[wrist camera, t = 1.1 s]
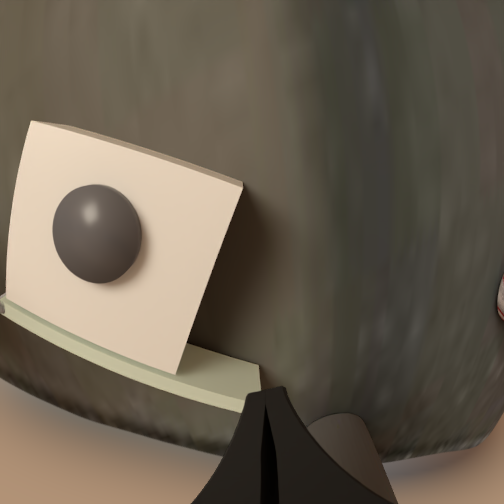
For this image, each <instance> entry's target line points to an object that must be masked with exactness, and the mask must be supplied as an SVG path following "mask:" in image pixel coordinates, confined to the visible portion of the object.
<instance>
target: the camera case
mask: <svg viewBox="0 0 504 504" xmlns="http://www.w3.org/2000/svg"><path fill="white" fill-rule="evenodd" d="M242 190H243V182H242V181H239V180H236V179H234V178H231V177H228V176H225V175H223V174H220V173H217V172H214V171H212V170H209V169H206V168H203V167H200V166H198V165H195V164H192V163H189V162H186V161H183V160H180V159H177V158H174V157H171V156H168V155H165V154H162V153H159V152H156V151H153V150H150V149H147V148H144V147H141V146H137V145H134V144H131V143H128V142H125V141H121V140H118V139H115V138H111V137H108V136H105V135H101V134H98V133H94V132H91V131H87V130H84V129H80V128H76V127H73V126H69V125H62V124H54V123H47V122H38V121H31V123H30V127H29V130H28V134H27V137H26V141H25V145H24V149H23V153H22V157H21V162H20V166H19V171H18V176H17V181H16V186H15V192H14V198H13V205H12V212H11V219H10V228H9V238H8V250H7V268H6V298H7V299H8V300H10V301H12V302H14V303H15V304H17V305H19V306H21V307H22V308H24V309H26V310H28V311H30V312H31V313H33V314H35V315H37V316H39V317H41V318H43V319H44V320H46V321H48V322H50V323H52V324H54V325H56V326H58V327H60V328H62V329H64V330H66V331H68V332H70V333H72V334H75V335H77V336H79V337H81V338H83V339H85V340H88V341H90V342H92V343H94V344H96V345H99V346H101V347H103V348H106V349H108V350H110V351H113V352H115V353H118V354H120V355H123V356H125V357H128V358H130V359H133V360H135V361H138V362H140V363H143V364H146V365H148V366H151V367H154V368H157V369H159V370H162V371H165V372H168V373H171V374H174V375H175V374H176V371H177V368H178V365H179V363H180V360H181V357H182V354H183V351H184V348H185V345H186V342H187V339H188V336H189V333H190V330H191V328H192V325H193V322H194V319H195V316H196V313H197V311H198V308H199V305H200V302H201V299H202V297H203V294H204V291H205V288H206V285H207V283H208V280H209V277H210V274H211V272H212V269H213V266H214V264H215V261H216V258H217V255H218V253H219V250H220V247H221V245H222V242H223V239H224V237H225V234H226V231H227V229H228V226H229V223H230V221H231V218H232V216H233V213H234V210H235V208H236V205H237V202H238V200H239V197H240V195H241V192H242Z"/></svg>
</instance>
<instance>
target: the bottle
mask: <svg viewBox="0 0 504 504" xmlns="http://www.w3.org/2000/svg"><path fill="white" fill-rule="evenodd" d="M307 429H308V431H309V432H310V433H311V435H312V436H313V437H314V438H315V440H316V441H317V442H318V443H319V445H320V446H321V447H322V448H323V449H324V450H325V451H326V452H327V453H328V454H329V455H330V456H331V457H332V458H333V459H334V460H335V461H336V462H337V463H338V464H339V465H340V466H341V467H342V468H343V469H344V470H346V471H347V472H348V473H349V474H351V475H352V476H353V477H354V478H355V479H357V480H358V481H359V482H361V483H362V484H363V485H365V486H366V487H368V488H369V489H370V490H372V491H373V492H375V493H376V494H378V495H380V496H381V497H383V498H385V499H386V500H388V501H390V502H392V503H394V504H398V502H397V500H396V497H395V495H394V492H393V490H392V488H391V485H390V482H389V480H388V477H387V475H386V472H385V470H384V467H383V465H382V463H381V460H380V458H379V455H378V453H377V451H376V448H375V446H374V443H373V441H372V439H371V436H370V434H369V432H368V430H367V427H366V425H365V423H364V421H363V420H362V419H361V418H360V417H359V416H357V415H354V414H350V413H339V414H333V415H329V416H326V417H323V418H321V419H319V420H317V421H315V422H313V423H312V424H310V425H309V426H308V427H307Z"/></svg>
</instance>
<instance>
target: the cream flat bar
mask: <svg viewBox="0 0 504 504" xmlns="http://www.w3.org/2000/svg"><path fill="white" fill-rule="evenodd" d="M0 314H2V315H4V316H5V317H7V318H9V319H10V320H12V321H14V322H15V323H17V324H19V325H20V326H22V327H24V328H26V329H27V330H29V331H31V332H33V333H34V334H36V335H38V336H40V337H42V338H44V339H46V340H47V341H49V342H51V343H53V344H55V345H57V346H59V347H61V348H63V349H65V350H67V351H69V352H71V353H73V354H75V355H78V356H80V357H82V358H84V359H86V360H88V361H91V362H93V363H95V364H97V365H100V366H102V367H104V368H107V369H109V370H111V371H114V372H116V373H119V374H121V375H124V376H126V377H129V378H131V379H134V380H136V381H139V382H142V383H144V384H147V385H150V386H153V387H156V388H158V389H161V390H164V391H167V392H170V393H173V394H176V395H179V396H182V397H186V398H189V399H192V400H196V401H199V402H202V403H206V404H209V405H213V406H217V407H220V408H224V409H228V410H232V411H236V412H240V413H242V410H243V407H244V403H245V399H246V396H247V394H248V393H252V392H257V391H261V385H260V374H259V365H256V364H253V363H249V362H246V361H242V360H239V359H235V358H232V357H229V356H226V355H222V354H219V353H216V352H213V351H210V350H206V349H203V348H200V347H197V346H194V345H191V344H188V343H186V345H185V348H184V351H183V354H182V357H181V360H180V363H179V365H178V368H177V371H176V374H175V375H174V374H171V373H168V372H165V371H162V370H159V369H157V368H154V367H151V366H148V365H146V364H143V363H140V362H138V361H135V360H133V359H130V358H128V357H125V356H123V355H120V354H118V353H115V352H113V351H110V350H108V349H106V348H103V347H101V346H99V345H96V344H94V343H92V342H90V341H88V340H85V339H83V338H81V337H79V336H77V335H75V334H72V333H70V332H68V331H66V330H64V329H62V328H60V327H58V326H56V325H54V324H52V323H50V322H48V321H46V320H44V319H43V318H41V317H39V316H37V315H35V314H33V313H31V312H30V311H28V310H26V309H24V308H22V307H21V306H19V305H17V304H15V303H14V302H12V301H10V300H8V299H7V298H6V293H4V294H3V295H1V296H0Z"/></svg>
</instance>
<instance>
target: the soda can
mask: <svg viewBox="0 0 504 504" xmlns="http://www.w3.org/2000/svg"><path fill="white" fill-rule="evenodd" d="M497 307H498V313H499V316H500V318H501V319H502V320H503V321H504V274H503V277H502V279H501V283H500V287H499V293H498V300H497Z"/></svg>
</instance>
